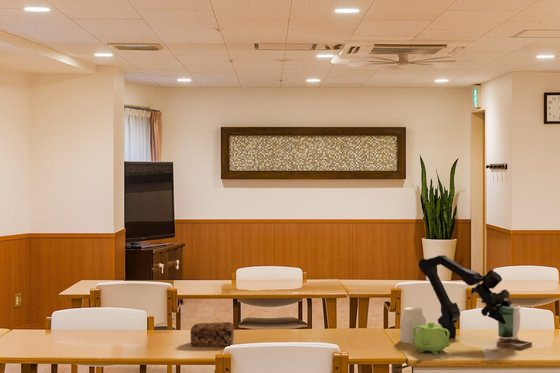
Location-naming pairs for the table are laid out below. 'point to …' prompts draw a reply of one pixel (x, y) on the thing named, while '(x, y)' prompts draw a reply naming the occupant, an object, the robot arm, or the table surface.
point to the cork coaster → (495, 349)
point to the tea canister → (506, 328)
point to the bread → (212, 334)
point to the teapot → (431, 338)
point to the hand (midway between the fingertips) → (508, 322)
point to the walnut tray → (514, 344)
